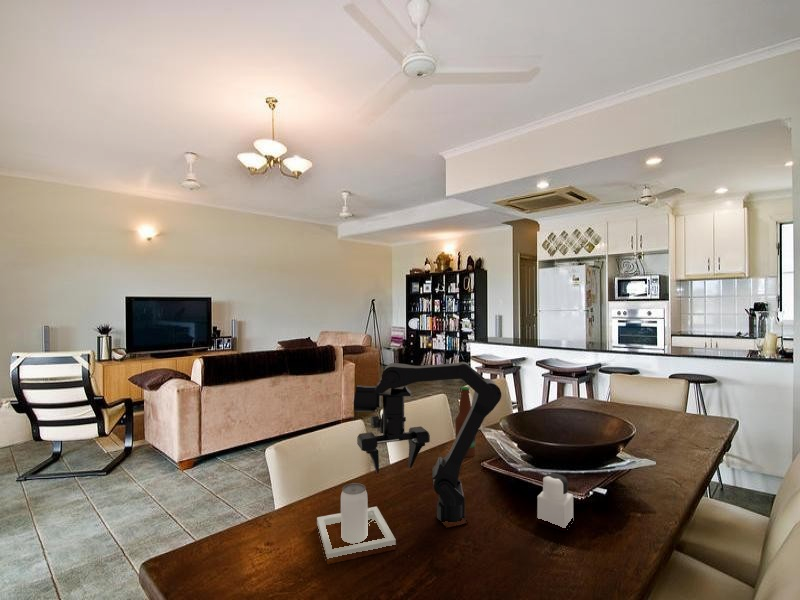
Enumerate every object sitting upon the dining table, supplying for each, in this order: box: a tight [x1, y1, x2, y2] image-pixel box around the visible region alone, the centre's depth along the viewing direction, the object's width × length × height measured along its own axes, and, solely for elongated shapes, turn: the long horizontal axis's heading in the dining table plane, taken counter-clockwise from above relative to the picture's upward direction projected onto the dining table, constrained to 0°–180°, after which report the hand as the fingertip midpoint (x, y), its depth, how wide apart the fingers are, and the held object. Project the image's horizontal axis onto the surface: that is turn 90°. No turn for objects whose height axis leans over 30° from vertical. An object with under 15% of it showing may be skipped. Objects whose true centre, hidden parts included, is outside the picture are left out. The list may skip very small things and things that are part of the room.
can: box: [340, 482, 369, 544], centre depth 100 cm, size 6×6×12 cm
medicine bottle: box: [536, 473, 574, 528], centre depth 107 cm, size 7×7×12 cm
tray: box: [316, 506, 397, 559], centre depth 101 cm, size 16×16×2 cm
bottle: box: [455, 386, 476, 458], centre depth 153 cm, size 7×7×25 cm
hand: (393, 470), depth 109 cm, fingers open, 9 cm apart
